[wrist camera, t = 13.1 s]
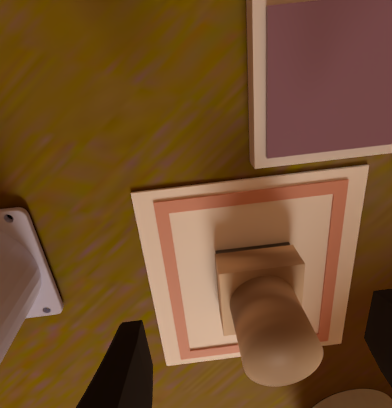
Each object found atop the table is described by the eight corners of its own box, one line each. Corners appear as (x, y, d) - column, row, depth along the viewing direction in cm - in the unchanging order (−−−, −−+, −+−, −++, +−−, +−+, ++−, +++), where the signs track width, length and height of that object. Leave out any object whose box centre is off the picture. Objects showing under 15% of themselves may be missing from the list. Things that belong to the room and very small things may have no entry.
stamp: (218, 307, 22) (235, 398, 16) (213, 249, 20) (231, 330, 14) (287, 298, 22) (328, 385, 16) (290, 240, 20) (338, 316, 14)
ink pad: (249, 161, 18) (256, 170, 16) (246, -4, 14) (253, -10, 13) (386, 146, 18) (404, 153, 17) (416, -22, 14) (441, -30, 13)
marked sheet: (166, 363, 25) (166, 367, 24) (131, 192, 18) (130, 194, 18) (340, 341, 25) (342, 345, 25) (367, 164, 18) (370, 166, 18)
